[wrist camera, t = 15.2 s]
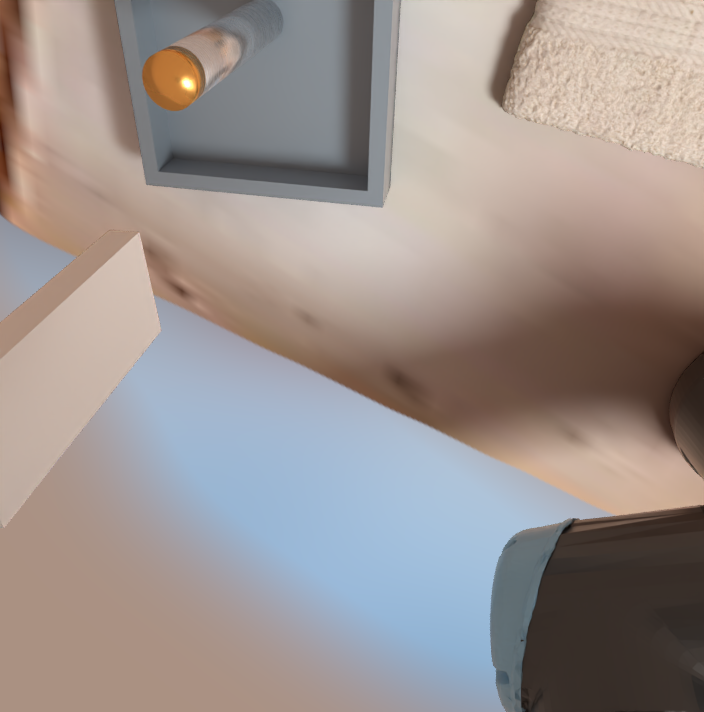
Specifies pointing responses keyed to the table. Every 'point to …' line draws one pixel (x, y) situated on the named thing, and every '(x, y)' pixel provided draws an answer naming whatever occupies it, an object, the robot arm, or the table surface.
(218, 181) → the tray
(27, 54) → the table surface
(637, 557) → the robot arm
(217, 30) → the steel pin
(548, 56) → the washcloth
